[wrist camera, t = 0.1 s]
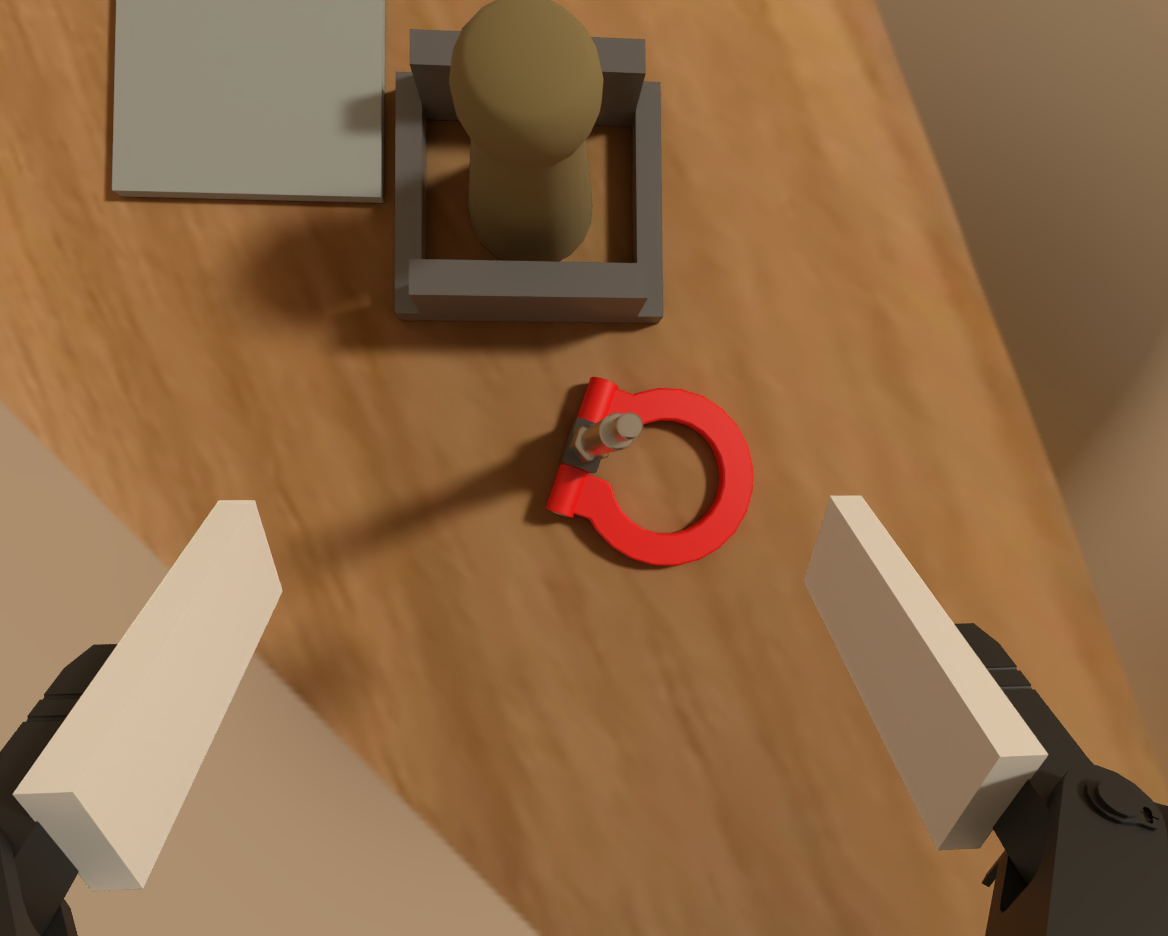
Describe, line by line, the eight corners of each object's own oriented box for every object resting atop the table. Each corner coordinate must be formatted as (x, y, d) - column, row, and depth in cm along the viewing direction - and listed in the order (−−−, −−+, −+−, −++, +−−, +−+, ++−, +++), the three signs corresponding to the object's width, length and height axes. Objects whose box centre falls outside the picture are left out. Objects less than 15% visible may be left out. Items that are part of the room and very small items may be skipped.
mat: (383, 202, 30) (380, 197, 30) (120, 196, 30) (111, 190, 29) (385, -41, 31) (382, -51, 30) (125, -54, 30) (117, -65, 29)
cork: (449, 169, 31) (399, -9, 20) (565, 129, 31) (579, -68, 20) (495, 285, 31) (471, 171, 20) (610, 243, 31) (649, 107, 20)
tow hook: (766, 425, 32) (593, 360, 31) (938, 388, 19) (651, 277, 18) (713, 585, 31) (536, 525, 31) (853, 658, 19) (554, 558, 18)
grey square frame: (658, 323, 31) (675, 298, 27) (400, 320, 30) (379, 294, 26) (655, 97, 32) (672, 40, 28) (401, 88, 31) (380, 27, 27)
